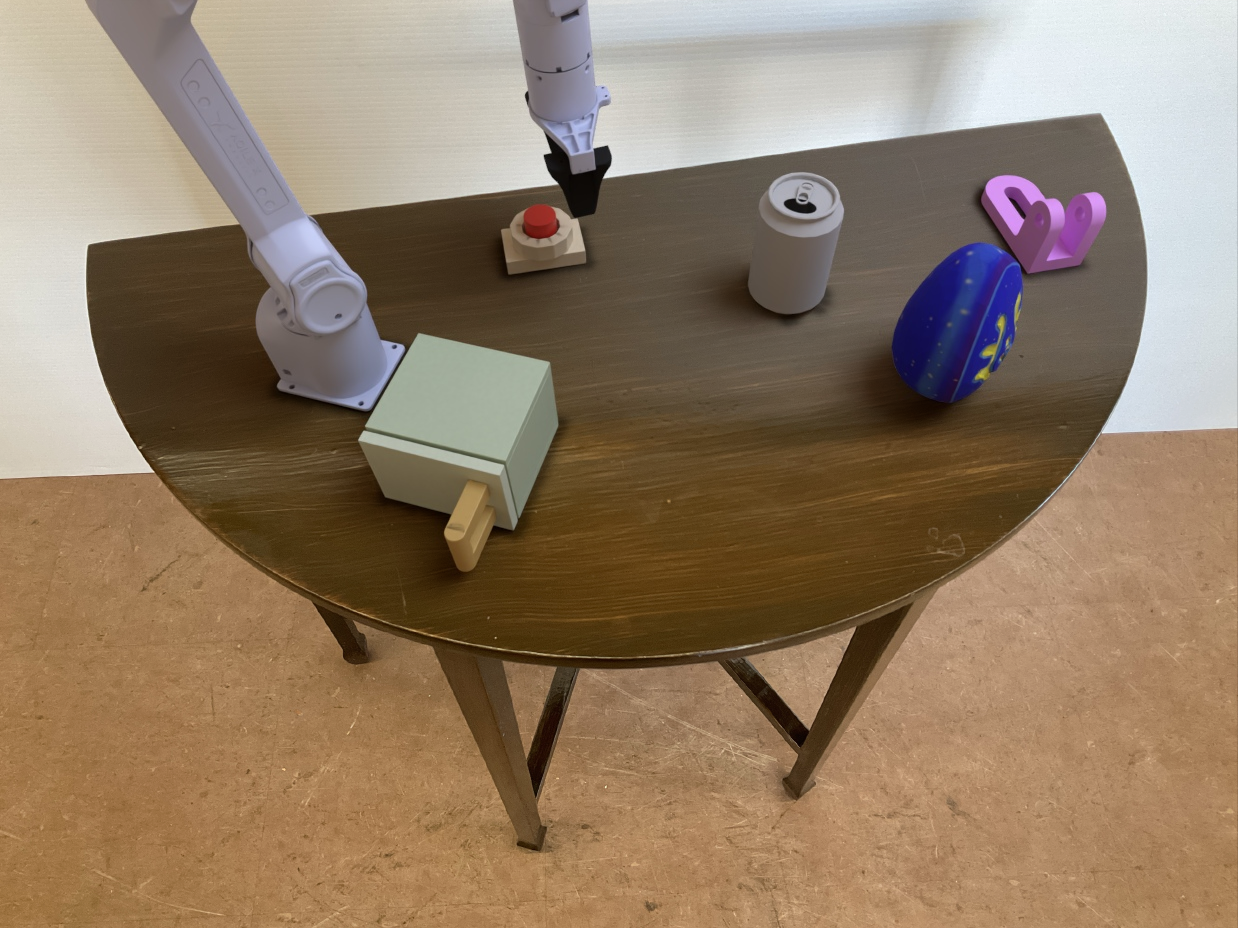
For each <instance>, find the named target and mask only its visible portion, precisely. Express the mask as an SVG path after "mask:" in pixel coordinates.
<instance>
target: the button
mask: <svg viewBox="0 0 1238 928" xmlns="http://www.w3.org/2000/svg"><path fill="white" fill-rule="evenodd" d="M552 207H553V206H551V205H547V204H533V205H531V206H530V207H527V208H528V209H527V208H526V209H527V210H526V211H525V212H524V215H523V218H524V225H525V231H526V233H527V235H528V236H530V237H531V238H535V239H544V238H549V237H551V236H553V235H554V234H555V233H556V231H557V221H556V213H555V210H554V209H553V208H552Z"/></svg>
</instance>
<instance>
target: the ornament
mask: <svg viewBox="0 0 1238 928" xmlns="http://www.w3.org/2000/svg"><path fill="white" fill-rule="evenodd" d="M1020 264H1021V263H1020V262H1018V261H1017V260H1016V259H1015V258H1014V257H1013V256H1012V255H1011V254H1010V253H1008V252H1007V251H1005V250H1003V249H1002V248H1001V247H999V246H997V245H995V244H993V243H988V242H987V243H986V242H973V243H969V244H966V245H964V246H961V247H959V248H958V249H956V250H955V251H952V252H951V253H950V254H949V255H948V256H946V257H945V258H944V259H943V260H942V261H941V262H940V263H939V264H937V266H935V267H934V268H933V269H932V271H931V272H929V274H928V275H927V276H926V277H925V278H924V279H923V281H922V282H921V283H920V285H918V286H917V288H916V290H914V292H913V294H912V295H911V296H910V298H909V299H908V300H907V302H906V304H905V306H904V307H903V309H902V311H901V313H900V315H899V317H898V319H897V323H896V324H895V327H894V330H893V335H892V342H891V354H892V361H893V366H894V368H895V370H896V372H897V373H898V375H899V378H901V380H902V381H903V382H904V383H905V384H906V385H907V386H908V387H909V388H910V389H911V390H913V391H914V392H916V393H917V394H919V395H921V396H923V397H924V398H928V399H931V400H933V401H935V402H941V403H945V404H952V403H956V402H958V401H961V400H963V399H965V398H967V397H969V396H970V395H972V394H973V393H975V392H976V391H977V390H979V388H980V387H981V386H982V385H983V384H984V383H985V382H986V381H987V380H988V378H989V377H990V374H991V373H995V372H996V371H997V370H998V369H999V366H1000V365H1001V363H1002V362H1004V360H1005V359H1006V357H1007V355H1008V353H1009V352H1010V349H1011V348H1012V346H1013V343H1014V342H1015V339H1016V332H1017V330H1018V327H1017V326H1018V325H1017V324H1018V322H1019V319H1020V315H1021V313H1022V303H1023V293H1024V283H1023V275H1022V270H1021V265H1020Z"/></svg>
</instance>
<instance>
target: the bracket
mask: <svg viewBox="0 0 1238 928" xmlns="http://www.w3.org/2000/svg"><path fill="white" fill-rule="evenodd" d="M1009 198H1010V199H1012V200H1014V201H1015V202H1016V203H1017V205H1018V206H1019V207H1020V209H1021V210H1022V212H1023V213H1024V215H1025V218H1023V217H1022V216H1021V215H1020V213H1019V212H1018V211H1017V209H1016V208H1015V206H1014V205H1013V203H1012V202H1011V201H1010V199H1009ZM980 200H981V205H982V206H983V208H984V210H985V211H986V214H988V216H989V217H990V219H991V220H992V222H993V224H994V225H995V227H996V228H997V229H998V231H999V232H1000V234H1001V235H1002V237H1003V239H1004V241H1005V242H1006V243H1007V245H1008V246H1009V248H1010V249H1011V251H1012V253H1013V254H1014V255H1015V257H1016V258H1017V260H1018V261H1019V264H1021V266H1022V267H1023V269H1024V271H1025V272H1026V273H1027V274H1033V273H1034V274H1035V273H1041V272H1046V271H1047V272H1048V271H1053V270H1058V269H1065V268H1071V267H1076V266H1081V265H1082V263H1083V260H1084V259H1085V257H1086V255H1087V254H1088V252H1089V250H1090V249H1091V246H1092V245H1093V243H1094V242H1095V240H1096V238H1097V236H1098V234H1099V233H1100V231H1101V229H1102V227H1103V226H1104V224H1105V222H1106V217H1107V204H1106V201H1105V199H1104V197H1103V196H1102V195H1101V194H1100V193H1099V192H1097V191H1091V192H1084V193H1078V194H1076V195H1074V196H1073V197H1072V198H1071V200H1070V201H1069V203H1068V205H1067V207H1066V210H1065V209H1064V206H1063V204H1062V203H1061V202H1060V200H1058V199H1057V198H1054V197H1052V198H1046V197H1045V196H1044V195H1043V193H1042V192H1041V191H1040V189H1039V187H1038V186H1037V185H1036V184H1034V183H1033V182H1031V181H1030V180H1028V179H1026V178H1024V177H1021V176H1017V175H1011V174H1005V175H998V176H995V177H993V178H991V179H990V180H989V181H988V182H987V183H986V185H985V188H984V190H983V192H982V194H981V199H980Z"/></svg>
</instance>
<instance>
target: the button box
mask: <svg viewBox="0 0 1238 928" xmlns="http://www.w3.org/2000/svg"><path fill="white" fill-rule="evenodd" d="M551 207H552V208H553V209H554V210H555V213H556V221H557V231H556V233H555V234H554V235H553V236H551V237H549V238H544V239H535V238H531V237H530V236H528V235H527V233H526V231H525V225H524V218H523V215H524V212H525V211H526V210H527V209H528V208H529V207H527V208H526V209H524V210H522V211H520V212H518V213H516V214H515V216H514V217H513V219H512V221H511V222H510V224H509V228H502V229H500V232H501V233H500V234H501V239H502V245H503V252H504V256H505V263H506V269H507V274H508V276H509V275H515V274H516V275H517V274H523V273H529V272H536V271H543V270H549V269H556V268H563V267H564V268H565V267H570V266H576V265H584V264H587V254H586V253H587V252H586V247H585V244H584V238H583V235H582V230H581V227H580V223H579V222H580V221H579V219H578V218H572V219H571V216H570V215H569V214H567V213H566V212H565V211H563V210H562V209H561V208H559V207H554V206H551Z"/></svg>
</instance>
